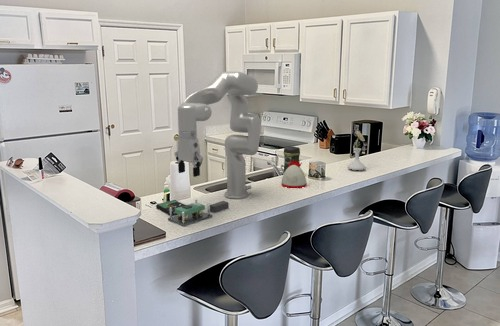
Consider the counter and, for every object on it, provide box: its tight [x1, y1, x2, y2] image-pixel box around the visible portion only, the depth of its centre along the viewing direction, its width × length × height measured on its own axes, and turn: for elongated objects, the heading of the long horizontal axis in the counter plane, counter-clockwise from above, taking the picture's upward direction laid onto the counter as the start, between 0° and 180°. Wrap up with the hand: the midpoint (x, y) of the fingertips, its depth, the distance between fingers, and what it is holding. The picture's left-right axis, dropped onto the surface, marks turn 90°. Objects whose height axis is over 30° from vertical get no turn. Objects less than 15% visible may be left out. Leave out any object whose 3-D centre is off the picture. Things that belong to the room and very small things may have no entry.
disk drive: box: [155, 199, 186, 217], centre depth 204 cm, size 10×3×15 cm
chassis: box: [167, 199, 213, 227], centre depth 191 cm, size 16×11×6 cm
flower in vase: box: [347, 130, 367, 171], centre depth 281 cm, size 13×11×25 cm
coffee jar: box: [282, 145, 301, 176], centre depth 263 cm, size 10×8×19 cm
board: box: [175, 201, 206, 216], centre depth 191 cm, size 12×6×3 cm, turn 138°
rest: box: [210, 200, 230, 214], centre depth 204 cm, size 9×4×3 cm, turn 138°
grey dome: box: [281, 159, 307, 189], centre depth 244 cm, size 14×14×15 cm
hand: (189, 174), depth 188 cm, fingers open, 9 cm apart
